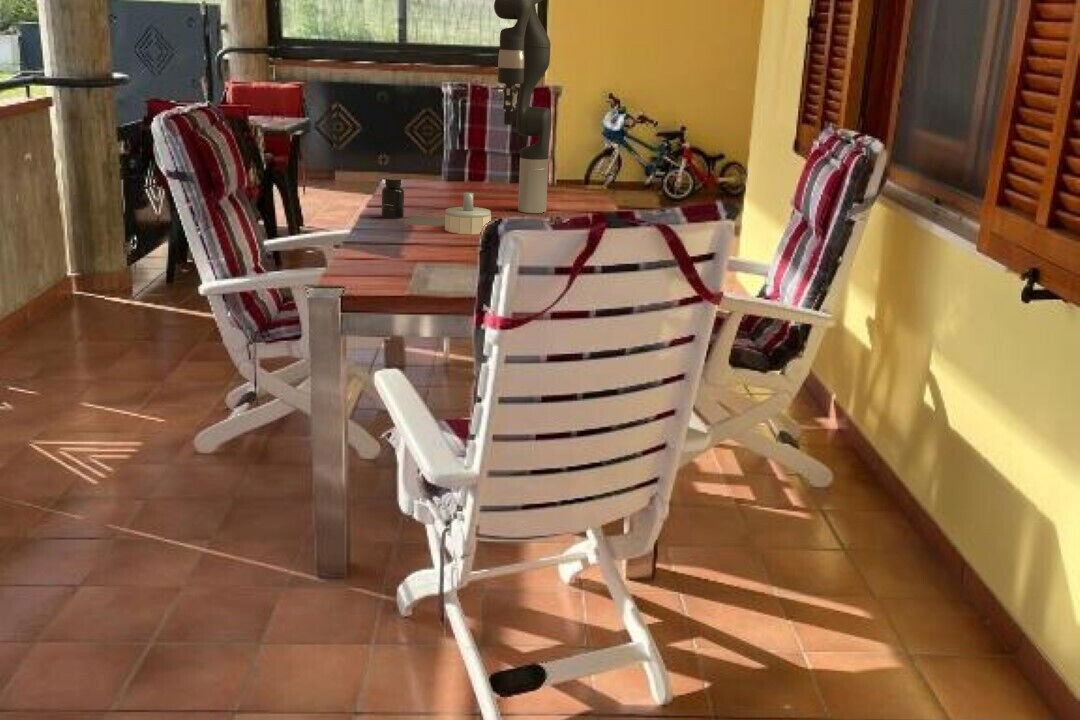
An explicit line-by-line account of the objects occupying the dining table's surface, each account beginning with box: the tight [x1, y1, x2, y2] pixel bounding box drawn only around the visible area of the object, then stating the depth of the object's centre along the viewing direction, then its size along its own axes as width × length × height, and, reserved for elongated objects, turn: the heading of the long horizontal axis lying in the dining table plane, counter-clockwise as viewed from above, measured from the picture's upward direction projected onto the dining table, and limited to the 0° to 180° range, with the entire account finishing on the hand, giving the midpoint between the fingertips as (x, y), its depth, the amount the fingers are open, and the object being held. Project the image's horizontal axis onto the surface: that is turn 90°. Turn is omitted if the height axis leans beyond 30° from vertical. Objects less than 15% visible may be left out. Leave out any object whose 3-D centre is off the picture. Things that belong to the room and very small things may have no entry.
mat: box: [402, 215, 445, 227], centre depth 318 cm, size 14×14×1 cm
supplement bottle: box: [381, 177, 405, 220], centre depth 320 cm, size 7×7×12 cm
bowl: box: [444, 212, 492, 235], centre depth 306 cm, size 13×13×5 cm
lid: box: [445, 192, 492, 218], centre depth 304 cm, size 13×13×6 cm
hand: (509, 123), depth 310 cm, fingers open, 8 cm apart
